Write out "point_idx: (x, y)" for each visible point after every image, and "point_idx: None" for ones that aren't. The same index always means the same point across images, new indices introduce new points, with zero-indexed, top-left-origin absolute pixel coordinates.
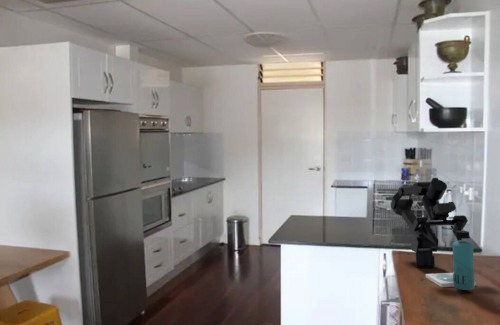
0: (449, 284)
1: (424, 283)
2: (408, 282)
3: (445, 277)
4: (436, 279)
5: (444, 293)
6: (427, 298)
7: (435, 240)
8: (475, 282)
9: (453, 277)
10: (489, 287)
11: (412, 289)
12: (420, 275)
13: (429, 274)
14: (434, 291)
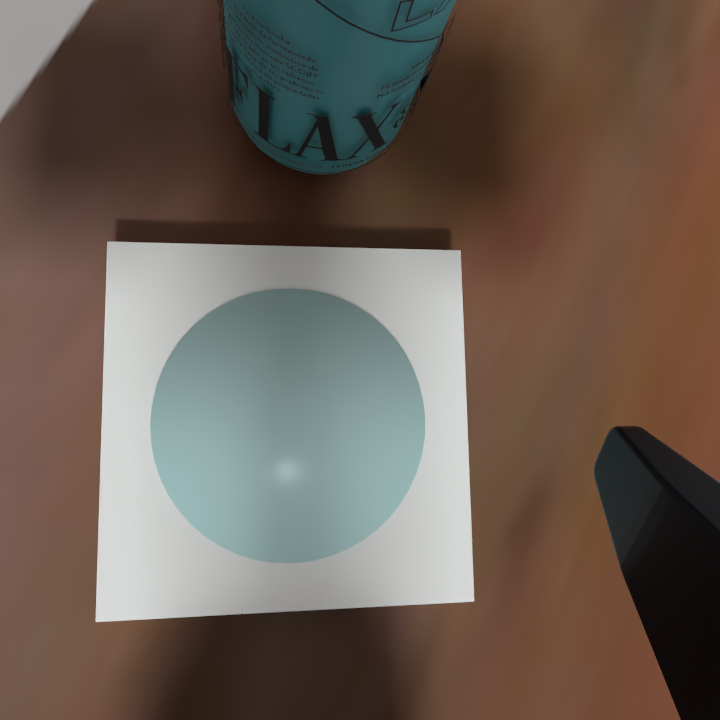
0: (379, 252)
1: (550, 389)
2: (676, 438)
3: (332, 432)
4: (447, 384)
5: (495, 102)
6: (663, 23)
7: (642, 442)
8: (110, 243)
9: (418, 86)
10: (17, 182)
11: (703, 241)
12: (489, 667)
13: (443, 574)
14: (552, 163)
